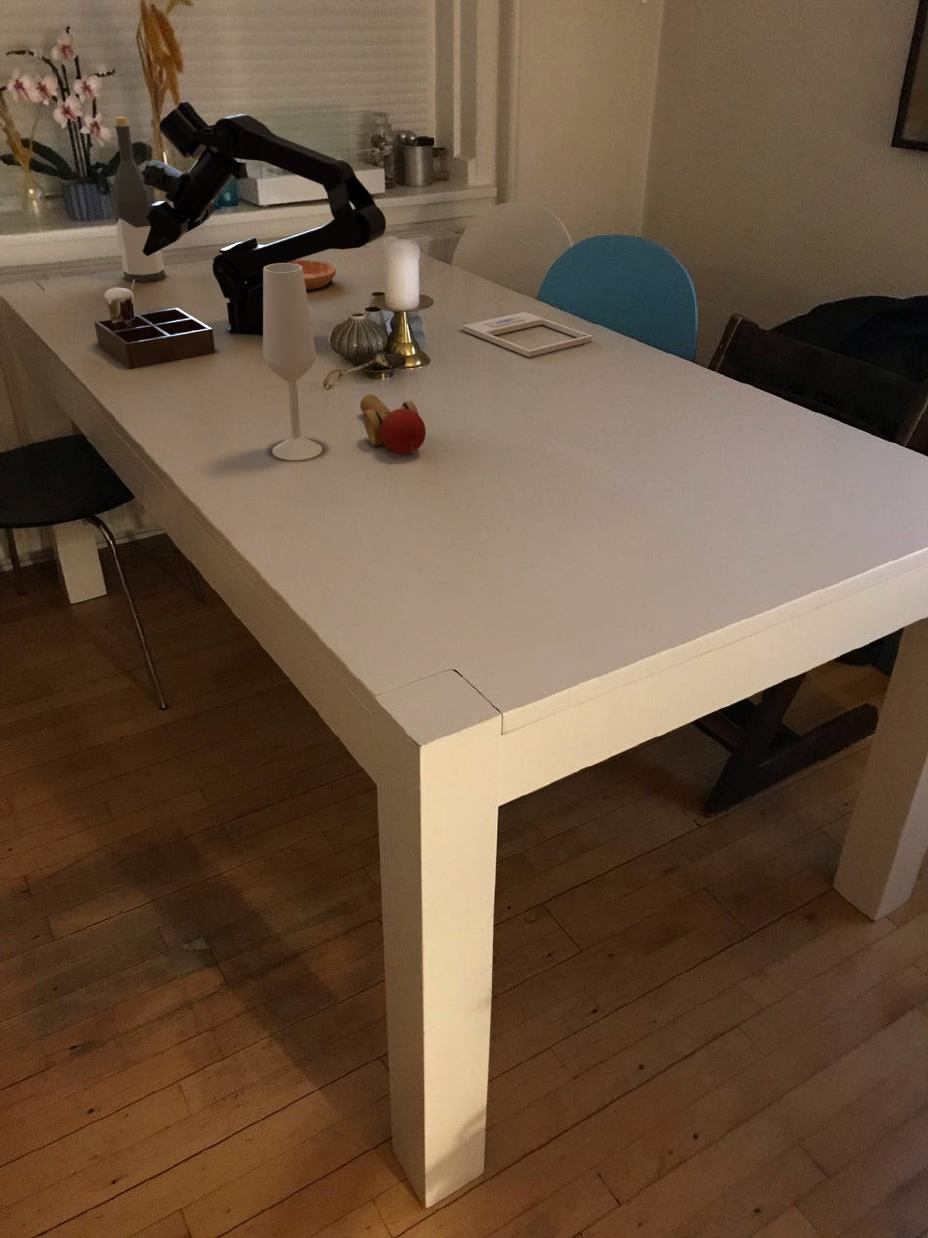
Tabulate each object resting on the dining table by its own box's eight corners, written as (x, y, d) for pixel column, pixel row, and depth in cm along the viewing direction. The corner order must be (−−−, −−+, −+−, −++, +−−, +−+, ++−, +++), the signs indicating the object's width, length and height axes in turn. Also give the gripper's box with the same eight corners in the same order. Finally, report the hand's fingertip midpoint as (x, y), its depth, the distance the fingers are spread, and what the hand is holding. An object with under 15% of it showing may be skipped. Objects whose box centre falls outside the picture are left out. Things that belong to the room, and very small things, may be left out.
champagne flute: (267, 443, 141) (250, 263, 128) (315, 437, 143) (303, 259, 130) (277, 462, 136) (261, 276, 123) (327, 456, 138) (316, 272, 125)
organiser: (180, 330, 184) (177, 307, 182) (215, 352, 174) (212, 328, 172) (98, 344, 176) (94, 321, 174) (129, 368, 166) (125, 344, 164)
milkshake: (149, 342, 176) (140, 282, 170) (120, 348, 172) (110, 287, 167) (136, 336, 178) (127, 276, 173) (108, 342, 175) (97, 282, 170)
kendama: (340, 427, 150) (379, 457, 135) (344, 383, 148) (383, 409, 132) (390, 429, 153) (434, 459, 138) (395, 386, 151) (439, 412, 135)
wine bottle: (173, 276, 215) (151, 116, 199) (144, 284, 209) (119, 121, 193) (145, 270, 218) (122, 113, 202) (116, 278, 212) (89, 117, 196)
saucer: (252, 276, 216) (251, 261, 214) (328, 271, 220) (327, 256, 218) (263, 296, 203) (262, 281, 201) (343, 290, 207) (343, 275, 205)
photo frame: (525, 310, 192) (592, 334, 180) (524, 316, 193) (592, 341, 181) (463, 324, 184) (529, 350, 173) (463, 330, 185) (529, 356, 173)
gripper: (186, 134, 179) (136, 202, 186) (146, 151, 163) (94, 225, 170) (236, 183, 182) (186, 247, 189) (202, 204, 166) (149, 274, 174)
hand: (154, 247), depth 180 cm, fingers open, 9 cm apart
